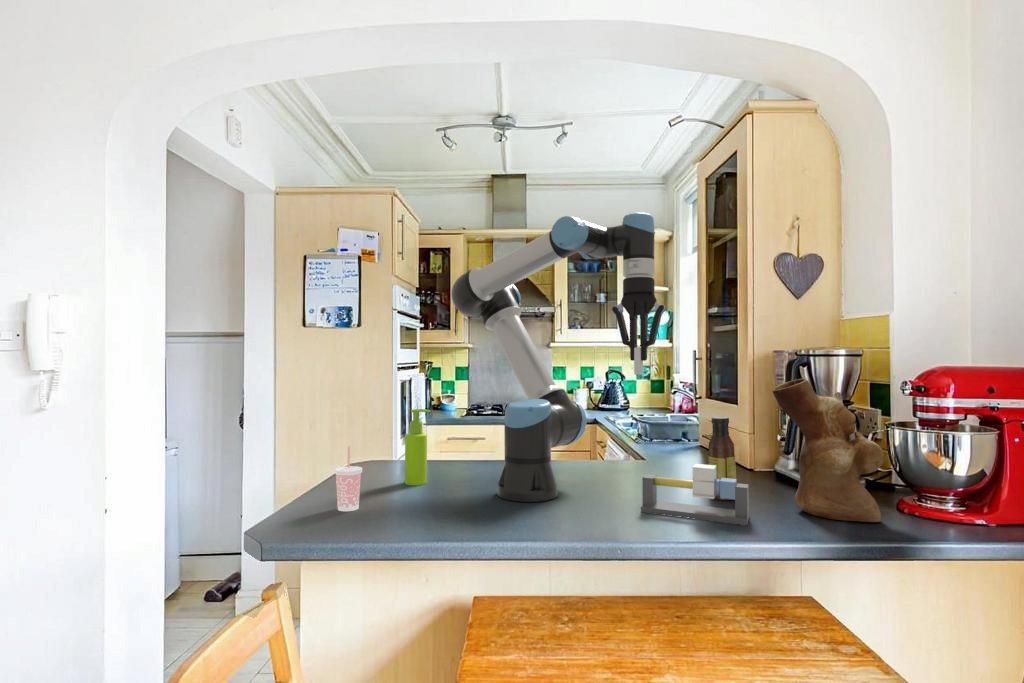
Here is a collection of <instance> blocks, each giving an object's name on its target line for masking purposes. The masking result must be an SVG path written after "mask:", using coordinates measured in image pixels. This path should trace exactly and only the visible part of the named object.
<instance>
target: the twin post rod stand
mask: <svg viewBox="0 0 1024 683" xmlns="http://www.w3.org/2000/svg"><path fill="white" fill-rule="evenodd" d="M641 482H642V483H641V484H642V489H641V490H642V504H641V506H640V513H644V512H647V513H646V514H652V513H656V514H655V515H659V514H665V515H664V516H667V515H672V516H671V517H675V516H681V517H680V518H683V517H689V518H688V519H690V518H695V519H694V520H698V519H701V520H700V521H706V520H709V521H708V522H714V521H717V522H716V523H722V522H724V523H723V524H729V523H731V524H732V525H737V524H740V525H739V526H745V525H747V526H748V523H749V519H750V509H749V507H750V506H749V504H750V503H749V498H750V496H749V495H750V494H749V492H750V490H749V489H750V487H749V484H748V483H747V484H746V483H738V482H737V478H736V479H730V478H721V480H720V479H715V483H714V494H715V495H718V496H720V498H725V499H734V502H735V503H734V509H731V508H723V507H715V506H706V505H705V506H704V505H697V504H689V503H680V502H674V501H673V502H670V501H665V500H664V501H663V500H657V498H658V497H657V495H658V494H657V492H658V490H657V488H658V487H657V486H662V487H663V486H664V487H671V488H679V489H690V490H693V479H691V480H690V479H689V480H688V479H682V478H681V479H680V478H669V477H661V476H659V477H658V476H657V475H656V474H655V475H654V474H647V473H646V474H645V475H643V476H642V481H641Z"/></svg>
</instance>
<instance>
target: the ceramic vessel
mask: <svg viewBox="0 0 1024 683" xmlns="http://www.w3.org/2000/svg"><path fill="white" fill-rule="evenodd" d="M771 391H772V393H773V396H774V397H775V400H776V402H777V403H778V406H779V407H780V408H781V410H782V411H783V412H784V413H785V414H786V415H787V417H789V419H790V420H791V421H792V422H793V423H794V424H795V425H796V426H797V428H799V430H800V431H801V433H802V434H803V437H804V443H803V445H802V448H801V451H800V452H801V453H800V455H799V457H798V460H799V465H798V466H799V467H798V470H799V471H798V472H799V482H798V488H797V490H796V493H795V495H794V502H795V503H796V504H797V505H798V506H799V507H800V509H801V510H802V511H804V512H805V513H807V514H810V515H812V516H816V517H819V518H825V519H829V520H836V521H838V520H839V521H847V522H848V521H849V522H866V523H870V522H871V523H879V522H881V521H882V514H881V510H880V507H879V504H878V503H877V501H876V499H875V498H874V497H873V496H872V494H871V493H870V492H869V491H868V489H866V488H865V486H864V485H863V483H862V482H861V479H860V477H861V475H866V474H870V473H874V472H876V471H877V470H878V469H879V468H880V467H881V466H882V465H883V463H884V461H885V453H884V450H883V449H882V447H881V445H879V444H878V443H876V442H875V441H872V440H870V439H868V438H867V437H865V436H864V435H863V434H862V433H861V432H859V431H855V430H856V420H857V418H856V415H855V414H854V413H853V412H851V410H850V409H849V408H847V406H845V405H844V403H843V402H844V401H843V396H842V394H841V392H840V391H836V392H835V393H834V395H833V396H822V395H818V394H816V392H815V391H814V390H813V388H812V385H811V383H810V382H809V380H808V379H807V378H798V379H793V380H790V381H789V380H788V381H786V382H783V383H780V384H778V385H776V386H774V387H773V388H772V389H771ZM851 435H854V438H853V439H850V440H847V437H849V436H851Z"/></svg>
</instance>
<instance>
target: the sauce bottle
mask: <svg viewBox="0 0 1024 683" xmlns="http://www.w3.org/2000/svg"><path fill="white" fill-rule="evenodd" d="M729 423H730V418H729V417H727V416H712V417H711V424H712V436H711V438H710V440H709V442H708V450H707V451H708V453H707V456H708V465H716V479H720V480H721V478H730V479H737V472H736V470H737V469H736V455H735V444H734V441H733V440H732V438H731V436H730V432H729ZM714 499H715V500H717V499H718V500H719V501H733V500H734V499H725V498H720V496H718V495H716V496H715V498H714ZM734 501H735V500H734Z"/></svg>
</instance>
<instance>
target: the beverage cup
mask: <svg viewBox="0 0 1024 683" xmlns="http://www.w3.org/2000/svg"><path fill="white" fill-rule="evenodd" d="M362 473H363V467H361V466H357V465H356V466H353V465H351V447H350V446H347V466H340V467H336V468H334V474H335V481H336V482H335V483H336V500H337V501H336V502H337V511H340V512H352V511H357V510H358V509H359V506H360V493H361V492H360V491H361V480H362V478H361V477H362Z"/></svg>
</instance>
